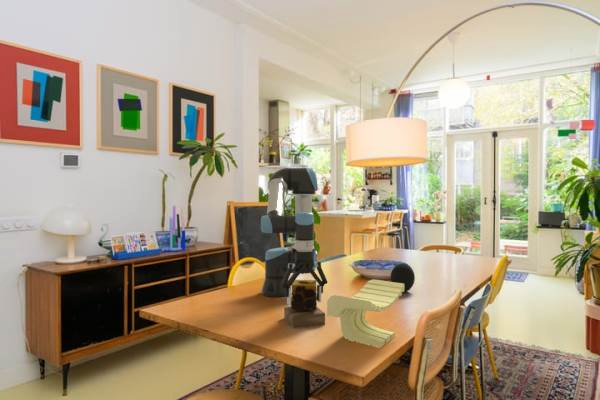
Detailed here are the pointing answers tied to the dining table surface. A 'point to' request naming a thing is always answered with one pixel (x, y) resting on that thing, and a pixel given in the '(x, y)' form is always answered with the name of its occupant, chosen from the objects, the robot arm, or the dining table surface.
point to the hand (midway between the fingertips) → (304, 303)
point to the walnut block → (304, 317)
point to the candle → (304, 295)
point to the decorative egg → (403, 275)
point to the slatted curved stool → (353, 311)
